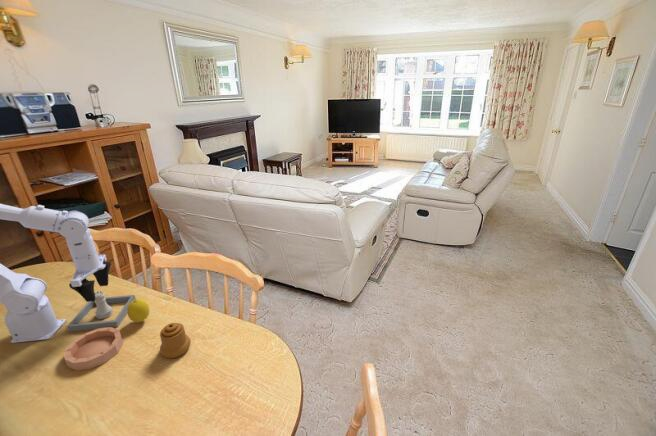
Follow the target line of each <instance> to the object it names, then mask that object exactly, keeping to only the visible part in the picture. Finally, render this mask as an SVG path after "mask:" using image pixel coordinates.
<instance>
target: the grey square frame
mask: <svg viewBox="0 0 656 436" xmlns="http://www.w3.org/2000/svg"><path fill="white" fill-rule="evenodd" d="M104 298H106V299H105V301H106V303H107V304H108V305H110V304H119V303H125V304H124V305H123V308H121V309H120V311H119V312H118V314H117V316H116V317H115V318H114V319H111V320H102V321H93V322H92V321H91V322H82V320H83V319H85V317H86V316H87V315H88V313H90V311H91V310H92V309H93V307H95V306H96V303H95V301H90V302H86V304H85V305H84V306H83V308H81V309H80V311H79V312H78V313H77V314H76V316H75V317H74V318H73V319H72V320H71V321H70V322H69V324H67V325H66V328H67V331H68V333H71V332H82V331H93V330H96V329H98V328H108V327H112V328H118V327H119V326H120V324H121V323H122V321H123V320H124V318H125V317H126V315H128V314H127V308H128V305H129V304H130V303H131V302H132V301H134V300H136V299H137V298H136V295H135V294H129V295H117V296H115V295H114V296H104Z"/></svg>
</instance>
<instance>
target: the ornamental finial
mask: <svg viewBox="0 0 656 436" xmlns="http://www.w3.org/2000/svg"><path fill="white" fill-rule="evenodd" d="M159 337H160V341H161V344H160V347H159V352H160V354H161V356H162V357H164V358H166V359H174V358H175V359H176V358H178V357H180V356H183V355H184V354H185V353H186V352H187V351H188V350H189V348H190V346H191V343H192V342H191V338H190V336H189V335H187V333H186V330H185V326H184V325H183V323H179V322H170V323H167V324H166V325H165V326H164V327H163V328H161V330H160V332H159Z"/></svg>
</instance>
